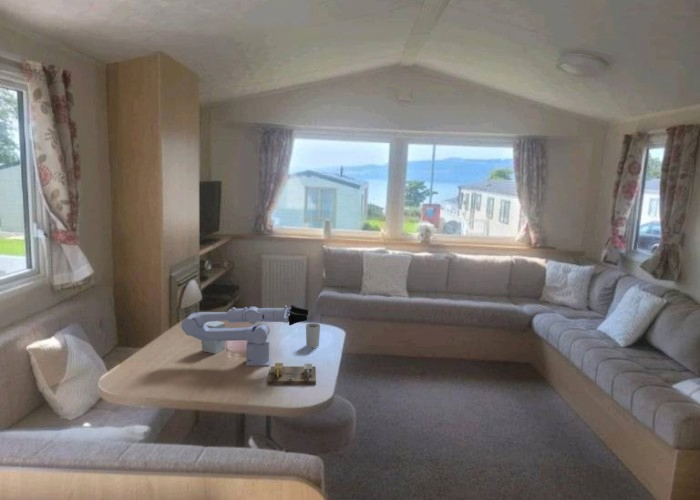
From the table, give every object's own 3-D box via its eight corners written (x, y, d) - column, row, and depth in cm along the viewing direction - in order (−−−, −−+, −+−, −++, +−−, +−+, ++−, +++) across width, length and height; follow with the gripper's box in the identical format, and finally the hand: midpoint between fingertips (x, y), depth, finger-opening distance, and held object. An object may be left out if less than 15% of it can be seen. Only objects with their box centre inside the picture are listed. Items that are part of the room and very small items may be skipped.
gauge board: (268, 384, 182) (268, 373, 181) (270, 369, 196) (271, 359, 195) (315, 384, 183) (316, 373, 183) (315, 369, 197) (315, 359, 197)
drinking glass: (317, 349, 221) (318, 328, 219) (303, 347, 222) (304, 326, 221) (321, 344, 227) (321, 323, 226) (307, 342, 229) (308, 322, 227)
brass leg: (273, 379, 183) (273, 371, 182) (275, 370, 191) (275, 362, 191) (281, 379, 183) (281, 371, 183) (282, 370, 191) (282, 363, 191)
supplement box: (201, 351, 213) (201, 323, 211) (212, 346, 220) (212, 319, 218) (215, 354, 210) (215, 326, 208) (225, 349, 217) (225, 321, 215)
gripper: (272, 310, 192) (306, 310, 193) (276, 300, 207) (308, 301, 207) (272, 327, 193) (306, 327, 194) (276, 316, 208) (308, 316, 208)
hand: (307, 315), depth 201 cm, fingers open, 7 cm apart
